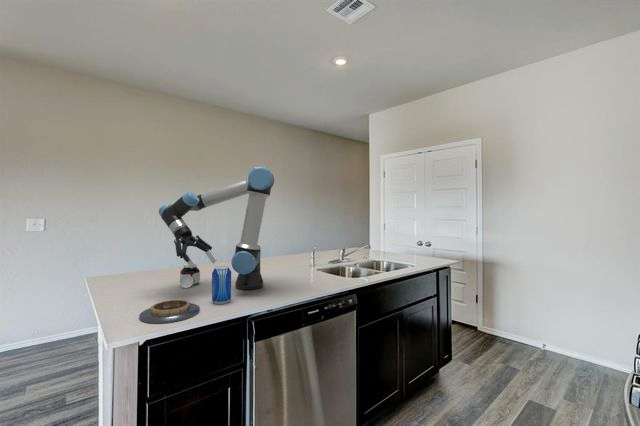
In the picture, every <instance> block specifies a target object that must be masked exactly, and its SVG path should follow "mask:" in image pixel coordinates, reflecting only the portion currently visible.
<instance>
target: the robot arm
mask: <svg viewBox="0 0 640 426" xmlns="http://www.w3.org/2000/svg"><path fill="white" fill-rule="evenodd" d="M274 183H275V177H274V175H273V173H272V172H271V170H270V169H269V168H267V167H264V166H262V165H261V166H255V167H252V168H251V170H250V171H249V172H248V174H247V177H246V179H243V180H241V181H238V182H235V183H232V184H229V185H225V186H222V187H220V188H219V187H218V188H217V189H213V190H209V191H207V192H204V193H201V194H199V195H196V193H194V192H193V191H192V190H191V191H187V192H185V193H184V194H182V196H180V197H179V198H178V200H176V201H175V202H174V203H172V204H171V203H166V204H164V205H162V206H161V207H160V208H159V209H158V214H159V216H160V218H161V219H162V221H163V222H164V224H165V225H166V226H167V227H168V229H169V230H170V232H171V233H172V234H173V236H174V240H173V244H174V246H175V251H176V252H175V253H176V256H177V257H178V258H180V259H183V260H184V262H185V263H186V264H187V263H188V264H189V266H190V267H191V268H193V267H194V266H195V265H196V264H197V263H196V262H195V261H194V259H193V258H192V257H191V255H190V254H189V253H187V251H188V247H194V248H198V249H199V250H201V251H203V252H204V253H205V255H206V257H208V259H209V260H210V262H211V263H212V264H215V262H217V258H216V256H215V255H214V252H212V249H213V247H212V246H211V245H210V243H209V244H208V243H207V242H206V241H205V240H203V239H202V238H201V237H200V236H199V235H196V236H193V231H192V230H191V228H190V227H189V226H188V224H187V223H186V222H185V220H184V219H183V217H184V216H185V215H186V214H187V213H189V212H190V211H191V212H194V211H195V212H198V211H201V210H203V209H205V208H208V207H211V206H214V205H217V204H220V203H224V202H226V201H230V200H232V199H235V198H239V197H242V196H245V195H248V200H247V204H246V209H245V214H244V221H243V223H242V224H243V226H242V230H241V235H240V239H239V242H238V243H236V246H235V250H234V255H233V256H232V258H231V268H232V269H233V270H234V272H236V273H237V277H236V279H235V280H236V281H235V283H234V284H235V285H234V287H235V289H237V290H240V291H241V290H243V291H252V290H259V289H261V288H262V289H263V287H264V279H263V276H262V274H261V273H262V272H261V252H262V251H261V246H260V245H258V242H259V237H260V232H261V228H262V222H263V217H264V213H265V207H266V202H267V198H269V197H271V191H272V187H273V186H274ZM195 263H196V264H195Z"/></svg>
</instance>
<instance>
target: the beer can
mask: <svg viewBox="0 0 640 426" xmlns="http://www.w3.org/2000/svg"><path fill="white" fill-rule="evenodd" d="M231 299H232V271H231V269H230V266H227V265H220V266H215V267H214V268H213V271H212V272H211V301H212V303H213V304H214V305H224V304H229V302H230V301H232V300H231Z"/></svg>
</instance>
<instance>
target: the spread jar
mask: <svg viewBox="0 0 640 426" xmlns="http://www.w3.org/2000/svg"><path fill="white" fill-rule="evenodd" d="M195 264H196V265H195V266H194V267H193V268H191V267H190V266H189V264H188V263H187V262H186V263H184V264H183V267H182V269H181V270H180V272H179V285H180V287H182V288H184V289H189V288H191V287H194V286H196V285H198V284H199V283H200V281H201V271H200V269H199V267H198V266H197V265H198V264H197V263H196V262H195Z"/></svg>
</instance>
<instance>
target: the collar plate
mask: <svg viewBox="0 0 640 426" xmlns="http://www.w3.org/2000/svg"><path fill="white" fill-rule="evenodd" d="M200 310H201V307H200V306H199V305H198V304H196V303H191V302H190V301H189V300H184V299H171V300H170V299H169V300H164V301H159V302H156V303H154V304H153V305H151V306H150V308H146V309H144V310H143V311H142V312H141V313H139V315H138V316H139V317H138V319H139V321H140V322H142V323H146V324H150V325H151V324H153V325H159V324H160V325H164V324H173V323H178V322H182V321H185V320H188V319H191V318H194V317H196V316H197V315H198V314H199V313H200Z"/></svg>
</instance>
